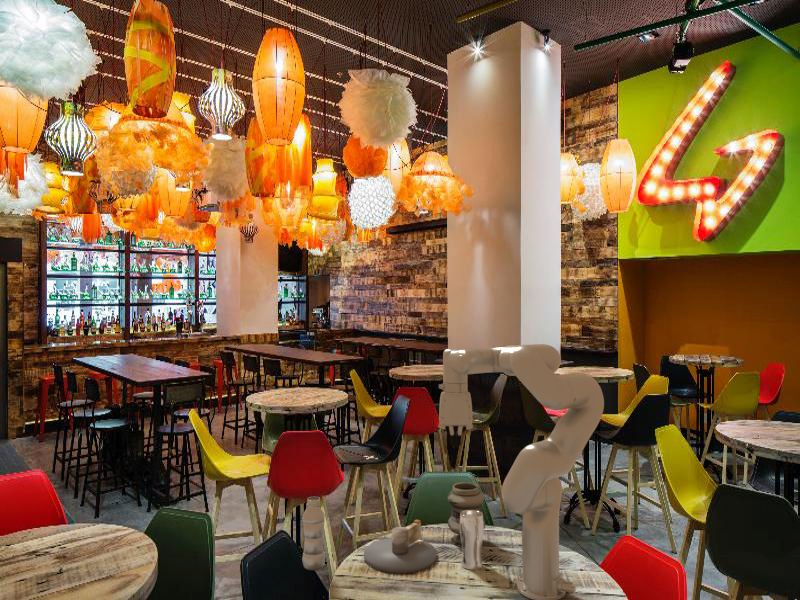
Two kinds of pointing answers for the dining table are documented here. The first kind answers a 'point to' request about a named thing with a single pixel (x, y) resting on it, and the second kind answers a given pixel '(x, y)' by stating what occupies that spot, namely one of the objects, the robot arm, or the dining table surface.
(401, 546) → the tan knob handle
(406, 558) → the dial base
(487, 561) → the dining table surface
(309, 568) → the plastic bottle
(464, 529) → the beer glass
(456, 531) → the apothecary jar
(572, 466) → the robot arm
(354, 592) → the dining table surface
